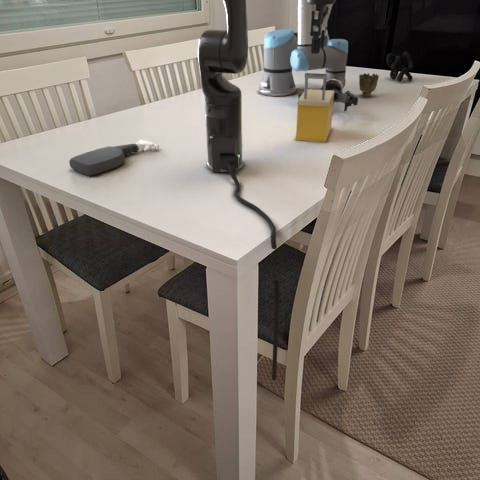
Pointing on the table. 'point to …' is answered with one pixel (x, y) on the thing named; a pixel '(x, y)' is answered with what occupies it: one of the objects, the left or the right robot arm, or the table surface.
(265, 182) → the table surface
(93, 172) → the spray bottle
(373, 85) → the cup
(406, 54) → the squiggle
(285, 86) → the right robot arm
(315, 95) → the lid
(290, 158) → the table surface
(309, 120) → the yellow hollow box
